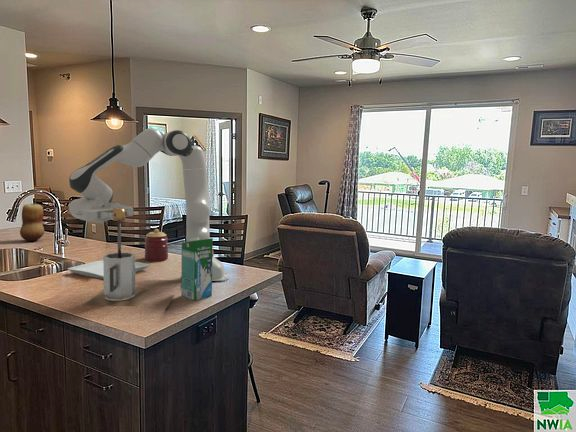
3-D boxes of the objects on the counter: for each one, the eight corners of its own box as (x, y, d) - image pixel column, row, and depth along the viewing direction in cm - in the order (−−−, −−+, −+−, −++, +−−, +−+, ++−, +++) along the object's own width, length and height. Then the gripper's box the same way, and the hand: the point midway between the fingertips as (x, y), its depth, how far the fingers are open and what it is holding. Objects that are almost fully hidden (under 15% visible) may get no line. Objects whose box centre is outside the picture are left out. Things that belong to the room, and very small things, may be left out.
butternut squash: (38, 243, 255) (37, 205, 252) (16, 242, 253) (14, 204, 250) (48, 239, 269) (47, 203, 266) (27, 239, 267) (25, 202, 264)
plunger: (132, 267, 158) (132, 208, 155) (126, 272, 150) (125, 210, 148) (113, 266, 157) (112, 207, 155) (105, 271, 150) (104, 209, 147)
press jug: (138, 292, 161) (138, 252, 159) (126, 304, 147) (126, 261, 145) (110, 292, 160) (110, 252, 158) (96, 304, 146) (95, 260, 144)
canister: (161, 262, 218) (161, 231, 216) (140, 260, 220) (139, 229, 218) (172, 257, 231) (172, 228, 229) (151, 255, 233) (151, 226, 231)
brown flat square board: (152, 292, 166) (152, 289, 166) (137, 309, 146) (137, 305, 146) (104, 292, 165) (103, 288, 164) (82, 309, 145) (82, 305, 145)
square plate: (150, 271, 201) (150, 263, 201) (106, 284, 177) (106, 275, 176) (112, 263, 213) (112, 256, 212) (66, 275, 188) (65, 267, 187)
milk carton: (198, 291, 171) (199, 234, 168) (211, 296, 165) (212, 237, 162) (181, 295, 164) (181, 237, 161) (194, 301, 158) (195, 240, 155)
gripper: (73, 205, 149) (95, 208, 142) (120, 202, 166) (142, 205, 159) (73, 221, 149) (95, 225, 142) (120, 217, 167) (142, 220, 160)
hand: (120, 214), depth 151 cm, fingers open, 6 cm apart
